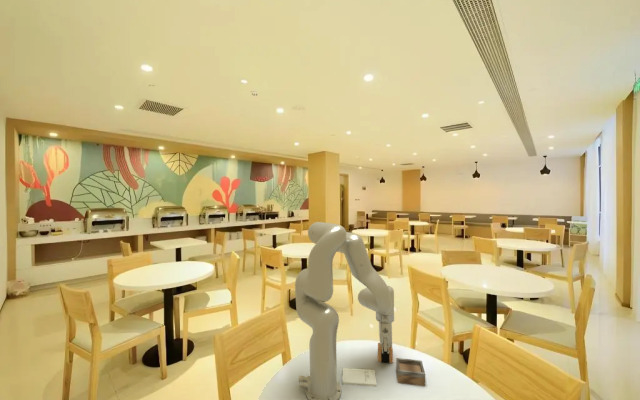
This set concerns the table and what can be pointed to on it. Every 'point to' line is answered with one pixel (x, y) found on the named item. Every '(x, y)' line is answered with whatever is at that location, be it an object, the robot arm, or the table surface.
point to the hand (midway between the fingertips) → (385, 357)
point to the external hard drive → (358, 377)
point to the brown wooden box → (410, 372)
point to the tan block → (389, 353)
